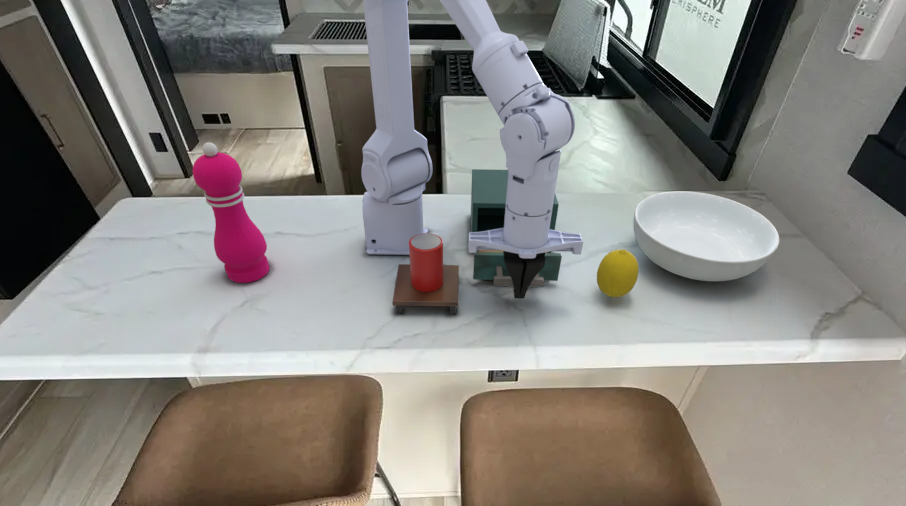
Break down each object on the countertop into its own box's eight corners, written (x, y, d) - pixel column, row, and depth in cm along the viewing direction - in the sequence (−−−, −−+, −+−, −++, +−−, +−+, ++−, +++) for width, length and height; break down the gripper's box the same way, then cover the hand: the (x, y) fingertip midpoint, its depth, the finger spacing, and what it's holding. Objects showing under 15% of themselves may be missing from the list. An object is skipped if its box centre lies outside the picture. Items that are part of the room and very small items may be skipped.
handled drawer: (473, 296, 73) (474, 270, 70) (472, 238, 85) (473, 214, 82) (561, 297, 73) (566, 272, 70) (548, 239, 85) (551, 215, 82)
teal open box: (471, 253, 83) (472, 203, 77) (470, 217, 92) (472, 169, 86) (550, 254, 83) (558, 204, 77) (542, 218, 92) (549, 170, 86)
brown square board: (393, 315, 72) (392, 301, 70) (399, 277, 78) (398, 264, 77) (457, 316, 71) (458, 302, 70) (458, 278, 78) (458, 264, 76)
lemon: (632, 289, 76) (645, 243, 71) (628, 311, 72) (643, 264, 67) (594, 282, 78) (605, 236, 72) (589, 303, 74) (600, 256, 68)
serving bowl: (664, 308, 73) (679, 267, 69) (604, 233, 88) (612, 196, 84) (791, 290, 76) (813, 251, 72) (712, 221, 92) (726, 185, 87)
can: (409, 291, 71) (407, 250, 67) (412, 272, 75) (410, 232, 70) (442, 292, 71) (442, 250, 67) (443, 273, 75) (443, 232, 70)
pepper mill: (282, 265, 80) (249, 138, 67) (250, 290, 75) (208, 158, 62) (246, 254, 83) (207, 128, 69) (213, 278, 78) (164, 147, 64)
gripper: (469, 220, 59) (467, 311, 68) (594, 222, 59) (575, 313, 68) (469, 192, 65) (467, 280, 74) (584, 194, 64) (567, 282, 74)
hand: (518, 294), depth 71 cm, fingers closed, pressing on handled drawer
